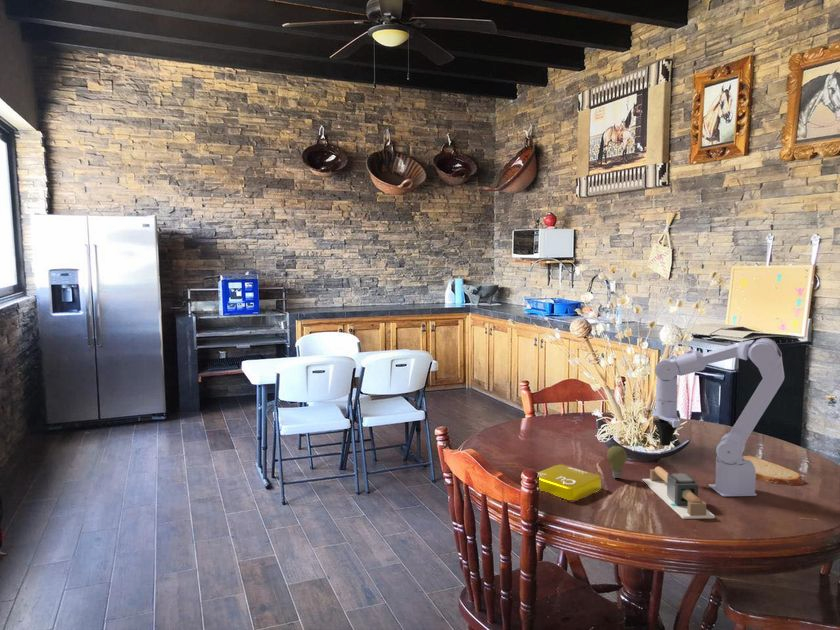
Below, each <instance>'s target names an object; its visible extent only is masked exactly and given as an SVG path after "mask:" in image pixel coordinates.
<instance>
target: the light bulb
mask: <svg viewBox="0 0 840 630" xmlns="http://www.w3.org/2000/svg"><path fill="white" fill-rule="evenodd" d="M606 457H607V460H608V463H609V464H610V468H611V470H612V477H613V478H614V479H615V478H619V479H620V478H622V471H623V468H624V465H625V464H626V461H627V459H628V456H627V451H626V450H625V449H624V448H623V447H622V446H619V445H613V446H611V447H609V448H608V450H607V453H606Z"/></svg>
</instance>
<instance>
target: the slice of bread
mask: <svg viewBox="0 0 840 630" xmlns="http://www.w3.org/2000/svg"><path fill="white" fill-rule="evenodd" d="M743 457H744V459H745V460H749V461H751V462H752V463H753V465H754V467H755V471H756V480H758V481H761V482H766V483H771V484H776V485H784V486H785V485H786V486H800V485H801V486H802V485H804V481H803V479H802V476H801V475H800V473H798V472H796V471H794V470H792V469H790V468H787V467H785V466H782V465H779V464H777V463H773V462H770V461H767V460H764V459H761V458H759V457H756V456H752V455H743Z"/></svg>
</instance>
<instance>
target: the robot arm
mask: <svg viewBox="0 0 840 630" xmlns="http://www.w3.org/2000/svg"><path fill="white" fill-rule="evenodd" d="M782 355H783V354H782V351H781V349H780V348H779V346H778V344H777V343H776V342H775V340H773V339H771V338H767V337H761V338H758V339H756V340H755V339H750V340H746V341H741V342H735V343H733V344H729V345H727V346H724V347H721V348H717V349H713V350H711V351H707V352H701V351H698V350H694V351H693V349H689V350H687V351H686V353H683V354H679V355H671V356H669V358H664V359H662V360H661V361H659V362H658V363H656V365H655V367H654V373H655V376H656V386H655V389H656V390H655V408H652V414H651V417H652V418H655V420H653V422H654V425H655V427H656V429H657V432H658V437H659V441H660V445H661V446H664V447H669V446H670V445H671V443H672V440H673V436H674V434H675V432H676V431H677V428H679V429H680V428H681V427H682V426H681V422H682V421H681V420H680V419H679V417H678V414H677V413H678V411H677V410H678V376H681V377H682V376H685V375H689V374H693V373H697V372H701V371H704V370H705V369H706V366H707V365H709V364H713V363H718V362H722V361H726V360H731V359H735V358H737V359H740V360H743V361H747V360H748V359H750V360H751V362H752V364H754V365H755V366H756V367H757V368H758V371H759V372H760V375H761V377H762V379H761V381H760V382H759V383H758V385H757V387H756V389H755V391H754V392H753V394H752V395H751V397H750V399H749V400H748V402H747V403H746V405H745V406H744V409H743V410H742V411H741V413H740V415H739V416H738V418H737V420H736V422H735V423H734V425H733V426H732V428H731V430H730V431H729V432H728V433H725V434H724V435H722V437H721V439H720V442H718V443H717V446H716V448H715V449H716V450H715V452H716V453H715V454H716V456H715V483H714V484H713V483H712V484H711V483H710V484H709V483H708V486H709V487H710V488H711V489H712V490H713V491H715V492H716V493H718V494H719V495H720V496H721V497H756V496H757V493H756V480H757V479H756V471H755V467H754V465H753V463H752V462H751V461H749V460H745V459H744V457H743V456H744V455H743V454H744V453H743V452H744V451H745V449H746V442H747V440H748V439H749V437H750V436H751V434H752V432H753V431H754V429H755V427H756V426H757V424H758V423H759V421H760V419H761V417H762V416H763V415H764V413H765V411H766V410H767V408H768V407H769V405H770V404H771V402H772V400H773V398H774V397H775V395H776V394H777V392H778V391H779V389H780V387H781V386H782V384H783V382H784V380H785V370H784V365H783V364H784V363H783V356H782Z"/></svg>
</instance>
